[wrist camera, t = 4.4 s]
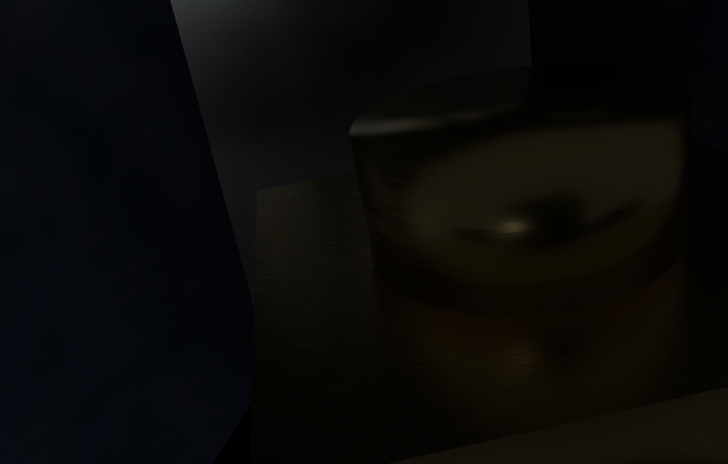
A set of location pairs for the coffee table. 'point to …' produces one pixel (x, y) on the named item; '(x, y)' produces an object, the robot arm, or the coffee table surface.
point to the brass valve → (500, 281)
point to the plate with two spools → (323, 79)
